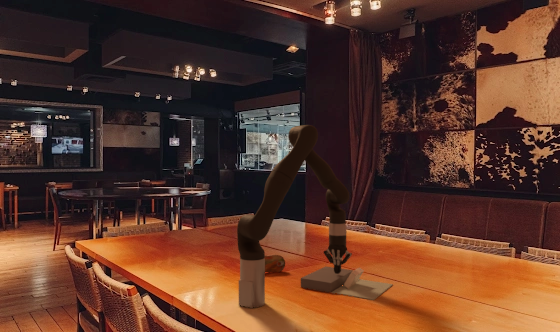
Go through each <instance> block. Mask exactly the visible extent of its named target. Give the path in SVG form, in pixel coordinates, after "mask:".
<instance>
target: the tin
mask: <svg viewBox="0 0 560 332" xmlns="http://www.w3.org/2000/svg"><path fill="white" fill-rule="evenodd" d="M285 266H286V261H285V258H284V257H283V256H281V255H279V254H268V255H266V254H265V272H278V273H280V271H281V272H283V270H284V269H285Z"/></svg>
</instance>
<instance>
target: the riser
mask: <svg viewBox="0 0 560 332" xmlns="http://www.w3.org/2000/svg"><path fill="white" fill-rule="evenodd" d="M354 270H355V269H354ZM354 270H353V269H347V268H341V272H340V273H339V274H335V272H334V266H326V265H325V266H323V267H321V268H319V269H316V270H315V271H312V272H311V273H308V274H306V275H305V276H302V277H300V288H301V287H303V289H307V288H308V290H312V289H313V291H319V292H324V291H325V292H324V293H329V292H330V293H331V294H332V292H333V291H334V290H336V289H338V288H339V287H341V286H342V285H344V283H345V282H346V280H347V279H348V277H349V275H350V274H351V272H352V271H354Z"/></svg>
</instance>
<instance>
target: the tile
mask: <svg viewBox="0 0 560 332" xmlns="http://www.w3.org/2000/svg"><path fill="white" fill-rule="evenodd" d="M364 271H365V270H364V269H362V268H361V267H357V268H356V269H354V271H352V272H351V274H350V275H349V277H348V279H347V280H346V282H345V283H344V286H345V287H347V288H350V287H352V286H353V285H355V284H356V283H357V281H358V280H359V279H360V278H361V276H362V275H363V274H364Z"/></svg>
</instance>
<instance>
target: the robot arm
mask: <svg viewBox="0 0 560 332" xmlns="http://www.w3.org/2000/svg"><path fill="white" fill-rule="evenodd" d="M287 135H288V136H287V137H288V141H289V144H290V145H291V146H292V148H291V150H290V151H289V152H288V154H286V155H285V156H284V157H283V158H282V159H280V160H279V162H278V163H276V165H275V166H274V167H273V169H272V170H271V172H270V174H269V175H268V177H267V179H266V181H265V185H264V189H263V192H264V193H263V199H262V203H261V204H260V206H259V207H258V209H257V210H256V213H255V214H249V213H248V214H244V215H242V216H241V217H240V218H239V220H238V223H237V227H236V229H237V230H236V233H237V250H238V253H239V280H238V306H239V305H241V306H240V307H243V306H246V307H245V308H248V307H250V308H249V309H253V307H254V308H260V307H263V306H264V305H265V304H266V300H265V299H266V295H265V294H266V293H265V291H266V290H265V289H266V285H265V284H266V276H265V256H266V253H265V250H264V248H263V247H262V245H261V243H260V241H263V240H264V239H265V238H266V236H267V235H268V234H269V231H270V229H271V227H272V224H273V222H274V219H275V218H276V215H277V212H278V211H279V208H280V206H281V204H282V203H283V201H284V200H285V199H284V198H285V197H286V195H287V193H288V192H289V190H290V188H291V186H292V184H293V182H294V180H295V178H296V177H297V174H298V173H299V171H300V169H301V168H302V166H303V164H304V162H305V163H306V164H307V165H308V166H309V167H310V169H311V171H312V172H313V174H314V175H315V176H316V178H317V180H318V181H319V183H320V185H321V186H322V187H323V189H325V190H326V189H327V190H326V192H325V201H326V206H327V209H328V210H327V211H328V213H329V221H328V222H329V224H328V246H327V249H326V250H324V251H323V254H324V255H325V257H326V259H327V261H328V262H329V263H330V264H333V268H334V272H335V274H339V273H340V272H341V269H342V265H344V264H346V263H347V261H349V259H350V258H351V257H352V255H353V253H352V252H349V250H348V248H347V233H348V232H347V224H346V223H347V222H346V221H347V219H346V218H347V217H346V216H347V215H346V210H344V208H341V205H344V204H347V203H348V202H349V201H350V192H349V190H348V188H347V187H346V186H345V185H344V184H343V183H342V181H341V180H340V179H339V178H337V176H336V174H335V172H334V171H333V169H332V167H331V166H330V165H329V163H327V161H325V160H324V159H323V158H322V157H321V156H320V155H319V154H318V153H316V151H315V150H314V147H315V146H316V144H317V142H318V140H319V139H318V138H319V132H318V129H317V128H316V127H315V126H314V125H310V124H304V125H297V126H295V125H294V126H293V127H292V128H290V130H289V131H288V134H287ZM344 256H345V257H344ZM343 257H344V258H343ZM259 306H260V307H259Z"/></svg>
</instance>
